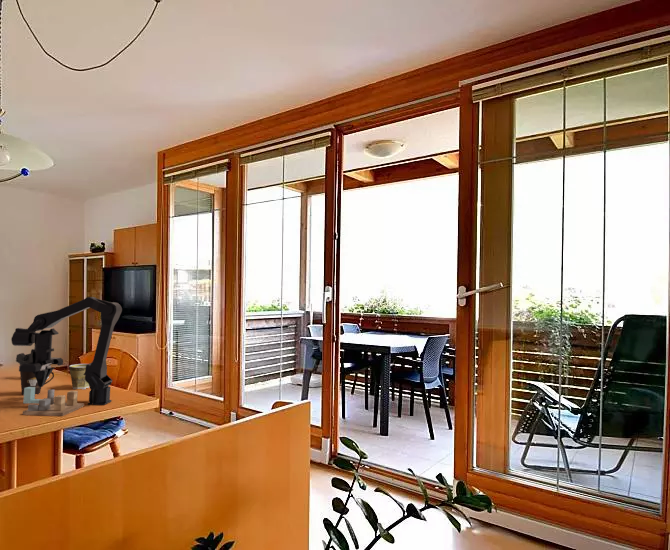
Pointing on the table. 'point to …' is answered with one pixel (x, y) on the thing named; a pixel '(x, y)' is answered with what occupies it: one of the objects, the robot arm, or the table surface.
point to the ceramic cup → (78, 376)
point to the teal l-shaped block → (30, 395)
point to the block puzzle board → (55, 405)
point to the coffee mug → (31, 381)
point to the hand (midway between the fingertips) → (40, 386)
